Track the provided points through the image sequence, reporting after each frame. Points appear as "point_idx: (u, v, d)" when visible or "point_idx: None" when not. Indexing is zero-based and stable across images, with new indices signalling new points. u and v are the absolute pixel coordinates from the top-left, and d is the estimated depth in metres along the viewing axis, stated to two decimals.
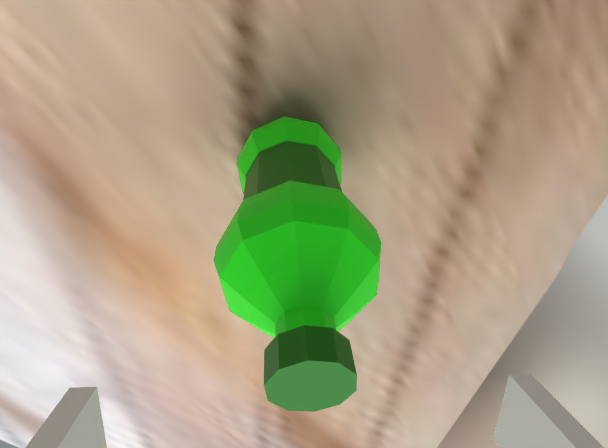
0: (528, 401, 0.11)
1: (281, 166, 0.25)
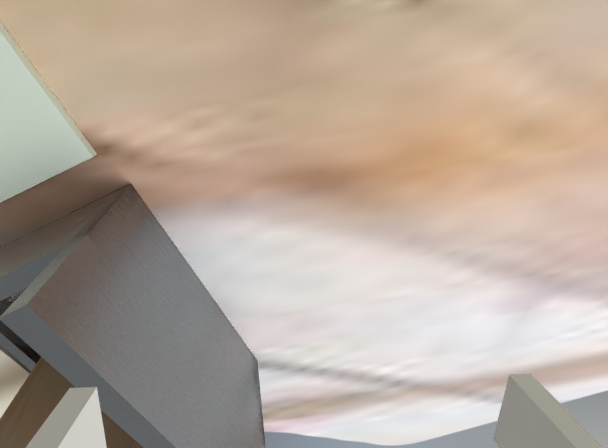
0: (528, 401, 0.11)
1: None
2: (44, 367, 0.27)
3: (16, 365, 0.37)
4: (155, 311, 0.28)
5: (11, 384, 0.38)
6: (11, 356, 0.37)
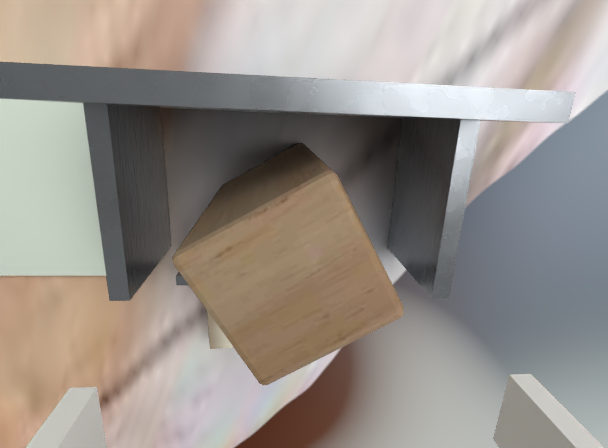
0: (527, 401, 0.11)
1: None
2: (202, 216, 0.25)
3: None
4: None
5: None
6: None
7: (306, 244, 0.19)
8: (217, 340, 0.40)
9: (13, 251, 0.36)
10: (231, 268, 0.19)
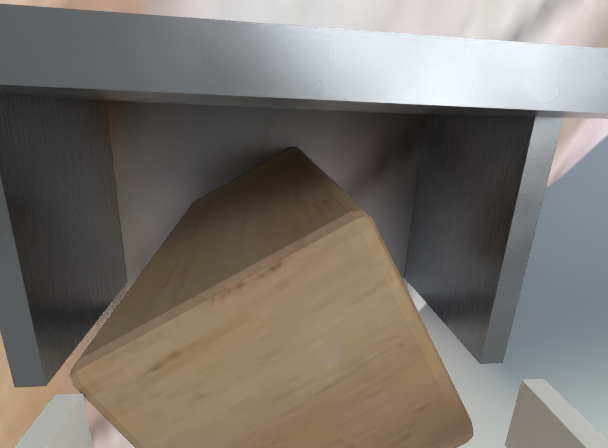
0: (542, 407, 0.11)
1: None
2: (150, 263, 0.17)
3: None
4: None
5: None
6: None
7: (316, 340, 0.11)
8: None
9: None
10: (181, 387, 0.10)
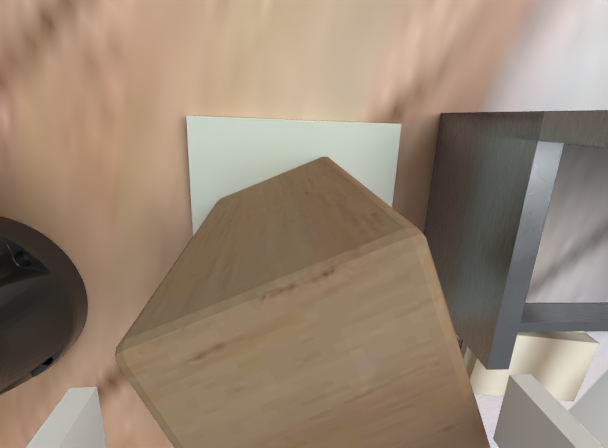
0: (528, 401, 0.11)
1: None
2: (184, 254, 0.17)
3: (539, 339, 0.34)
4: None
5: (548, 359, 0.35)
6: (528, 335, 0.34)
7: (356, 349, 0.11)
8: (476, 385, 0.35)
9: None
10: (219, 378, 0.11)
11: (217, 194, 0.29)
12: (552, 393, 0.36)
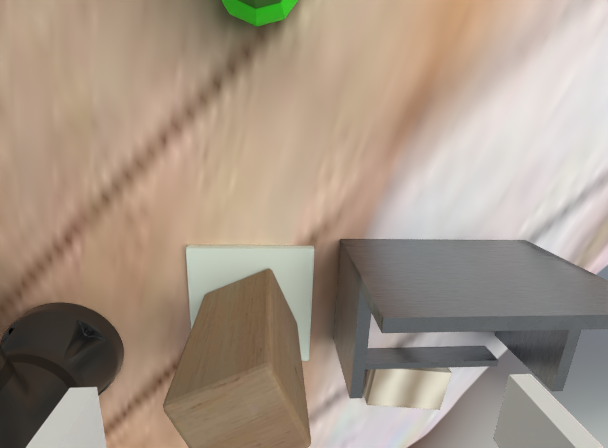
0: (528, 401, 0.11)
1: None
2: (186, 350, 0.36)
3: (412, 371, 0.53)
4: (430, 274, 0.39)
5: (419, 383, 0.54)
6: None
7: (249, 404, 0.30)
8: (374, 399, 0.54)
9: None
10: (200, 415, 0.30)
11: (204, 290, 0.48)
12: (424, 404, 0.56)
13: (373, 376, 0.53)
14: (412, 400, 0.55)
